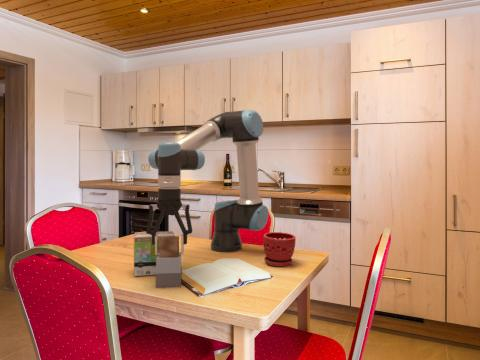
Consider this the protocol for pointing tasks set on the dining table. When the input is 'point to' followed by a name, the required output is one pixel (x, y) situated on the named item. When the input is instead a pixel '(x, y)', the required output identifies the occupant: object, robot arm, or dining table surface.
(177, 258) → the grey square block
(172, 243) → the walnut cube
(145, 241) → the tea box
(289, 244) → the plant pot
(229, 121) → the robot arm
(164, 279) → the dark grey block
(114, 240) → the dining table surface
